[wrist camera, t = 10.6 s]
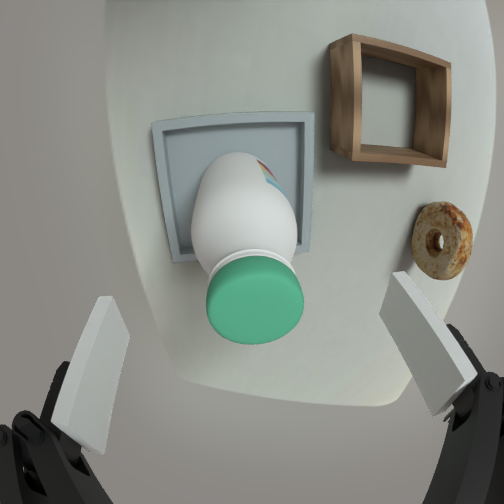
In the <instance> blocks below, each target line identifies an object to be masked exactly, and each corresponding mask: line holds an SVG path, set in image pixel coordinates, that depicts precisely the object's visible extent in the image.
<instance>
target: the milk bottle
mask: <svg viewBox="0 0 504 504" xmlns="http://www.w3.org/2000/svg"><path fill="white" fill-rule="evenodd" d="M191 238H192V244H193V248H194V252H195V254H196V257H197V259H198V261H199V263H200V264H201V266H202V267H203V269H204V270H205V271H206V272H207V274H208V275H209V279H208V284H207V298H206V310H207V316H208V319H209V321H210V324H211V325H212V327H213V328H214V330H215V331H216V332H217V333H218V334H220V335H221V336H222V337H224V338H226V339H228V340H230V341H233V342H236V343H240V344H263V343H267V342H271V341H274V340H276V339H278V338H280V337H282V336H284V335H286V334H287V333H288V332H290V331H291V330H292V329H293V328H294V327H295V326H296V325H297V323H298V322H299V320H300V318H301V316H302V313H303V309H304V297H303V293H302V289H301V286H300V284H299V282H298V279H297V277H296V274H295V271H294V269H293V267H292V266H291V264H290V263H291V261H292V258H293V256H294V253H295V249H296V244H297V224H296V219H295V215H294V212H293V209H292V207H291V205H290V203H289V201H288V199H287V197H286V195H285V193H284V192H283V190H282V188H281V187H280V185H279V183H278V182H277V180H276V179H275V177H274V176H273V174H272V172H271V171H270V169H269V168H268V167H267V166H266V164H265V163H264V162H263V161H262V160H260V159H259V158H258V157H256V156H254V155H252V154H249V153H245V152H231V153H227V154H224V155H222V156H220V157H218V158H217V159H215V160H214V161H213V162H212V163H211V164H210V165H209V166H208V167H207V169H206V171H205V173H204V175H203V177H202V180H201V184H200V187H199V191H198V194H197V198H196V202H195V206H194V210H193V216H192V223H191Z"/></svg>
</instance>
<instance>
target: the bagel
mask: <svg viewBox="0 0 504 504" xmlns="http://www.w3.org/2000/svg"><path fill="white" fill-rule="evenodd" d="M441 235H442V236H443V239H444V244H443V249H441V247H440V243H439V241H440V236H441ZM472 242H473V233H472V228H471V225H470V222H469V220H468V219H467V217H466V215H465V214H464V213H463V212H462V211H460V210H459V209H458V208H457V207H456V206H454V205H453V204H451V203H449V202H433V203H430V204H429V205H427V206H426V207H424V208H423V209H422V211H421V212H420V213H419V215H418V217H417V220H416V223H415V226H414V230H413V236H412V244H411V246H412V253H413V256H414V259H415V262H416V264H417V266H418V267H419V268H420V269H421V270H422V271H423V272H424V273H425V274H427V275H428V276H429V277H431V278H433V279H437V280H449V279H452V278H454V277H455V276H457V275H458V274H459V273H460V272H461V271H462V270H463V269H464V267H465V266H466V265H467V263H468V261H469V258H470V255H471V250H472Z"/></svg>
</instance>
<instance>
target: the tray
mask: <svg viewBox="0 0 504 504" xmlns="http://www.w3.org/2000/svg"><path fill="white" fill-rule="evenodd" d="M151 124H152V133H153V142H154V151H155V159H156V166H157V173H158V180H159V187H160V193H161V200H162V206H163V212H164V217H165V223H166V228H167V234H168V239H169V244H170V249H171V254H172V259H173V263H178V262H191V261H198V259H197V257H196V254H195V252H194V248H193V244H192V238H191V223H192V216H193V210H194V206H195V202H196V198H197V194H198V191H199V187H200V184H201V180H202V177H203V175H204V173H205V171H206V169H207V167H208V166H209V165H210V164H211V163H212V162H213V161H214V160H215V159H217V158H218V157H220V156H222V155H224V154H227V153H231V152H245V153H249V154H252V155H254V156H256V157H258V158H259V159H260V160H262V161H263V162H264V163H265V164H266V166H267V167H268V168H269V169H270V171H271V172H272V174H273V176H274V177H275V179H276V180H277V182H278V183H279V185H280V187H281V188H282V190H283V192H284V193H285V195H286V197H287V199H288V201H289V203H290V205H291V207H292V209H293V212H294V215H295V219H296V224H297V244H296V249H295V253H304V252H309V249H310V234H311V217H312V197H313V170H314V113H313V112H300V111H265V112H239V113H223V114H211V115H201V116H192V117H183V118H176V119H168V120H162V121H156V122H153V123H151Z"/></svg>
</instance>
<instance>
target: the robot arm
mask: <svg viewBox="0 0 504 504" xmlns="http://www.w3.org/2000/svg"><path fill="white" fill-rule="evenodd" d="M379 315H380V317H381V318H382V320H383V322H384V324H385V325H386V327H387V329H388V331H389V332H390V334H391V336H392V338H393V340H394V341H395V343H396V345H397V347H398V349H399V351H400V352H401V354H402V356H403V358H404V360H405V362H406V364H407V366H408V368H409V369H410V371H411V373H412V375H413V377H414V379H415V381H416V383H417V385H418V387H419V389H420V391H421V393H422V395H423V398H424V400H425V402H426V404H427V406H428V408H429V410H430V412H431V415H432V416H435V415H437V414H440V413H441V412H444V411H446V410H447V408H448V407H449V406H450V405H451V404H453V406H454V409H453V410H452V411H451V412H450V413H449V414H448V415H447V416H446V417H445V418H444V420H443V421H444V422H445V421H446V420H447V419H448V418H449V417H450V420H449V421H448V423H449V425H448V429H447V433H446V438H445V441H444V445H443V448H442V451H441V455H440V458H439V461H438V464H437V467H436V470H435V473H434V476H433V479H432V481H431V484H430V486H429V489H428V492H427V494H426V497H425V499H424V501H423V503H422V504H504V377H499V376H498V375H497V374H495V373H493V372H486V371H485V370H484V368H483V367H482V365H481V363H480V362H479V360H478V359H477V357H476V356H475V354H474V353H473V351H472V350H471V348H470V347H468V344H467V342H466V341H464V338H463V336H462V335H461V334H460V332H459V331H458V330H457V329H456V328H455V327H453V326H452V325H451V324H447V325H445V323H444V322H443V321H442V319H441V318H440V316H439V315H438V314H437V312H436V311H435V310H434V308H433V307H432V306H431V304H430V303H429V302H428V300H427V299H426V298H425V296H424V295H423V294H422V293H421V291H420V290H419V289H418V287H417V286H416V285H415V284H414V282H413V281H412V280H411V279H410V277H409V276H408V275H407V274H406V273H405V271H400V272H393V273H392V274H391V278H390V281H389V285H388V288H387V291H386V295H385V298H384V301H383V304H382V307H381V310H380V313H379ZM130 337H131V336H130V334H129V332H128V330H127V328H126V326H125V324H124V321H123V319H122V316H121V314H120V312H119V309H118V307H117V305H116V302H115V300H114V298H113V296H99V298H98V300H97V302H96V304H95V306H94V308H93V310H92V313H91V315H90V317H89V319H88V321H87V324H86V326H85V328H84V330H83V333H82V335H81V337H80V340H79V342H78V345H77V347H76V350H75V352H74V354H73V357H72V360H71V362H67V361H64V362H63V363H62V364H61V365H60V367H59V368H58V369H57V370H56V374H55V376H54V379H53V382H52V384H51V386H50V390H49V392H48V395H47V398H46V401H45V404H44V407H43V410H42V413H41V416H40V419H38V418H37V417H36V416H35V415H34V414H33V413H31V412H30V411H26V410H24V411H21V412H19V413H18V414H17V415H16V416H15V417H14V419H13V422H12V430H11V429H10V428H9V427H7V426H6V425H2V424H1V425H0V504H113V502H112V501H111V500H110V498H109V497H108V495H107V494H106V492H105V491H104V489H103V488H102V486H101V484H100V483H99V481H98V480H97V478H96V477H95V475H94V473H93V471H92V470H91V468H90V466H89V464H88V463H87V461H86V459H85V457H84V455H83V454H82V453H81V447H83V448H85V449H86V450H87V451H89V452H93V453H98V454H103V455H105V449H106V442H107V436H108V431H109V425H110V420H111V415H112V410H113V406H114V401H115V396H116V392H117V387H118V383H119V379H120V375H121V371H122V367H123V363H124V359H125V355H126V351H127V348H128V344H129V341H130ZM23 467H24V471H23Z"/></svg>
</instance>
